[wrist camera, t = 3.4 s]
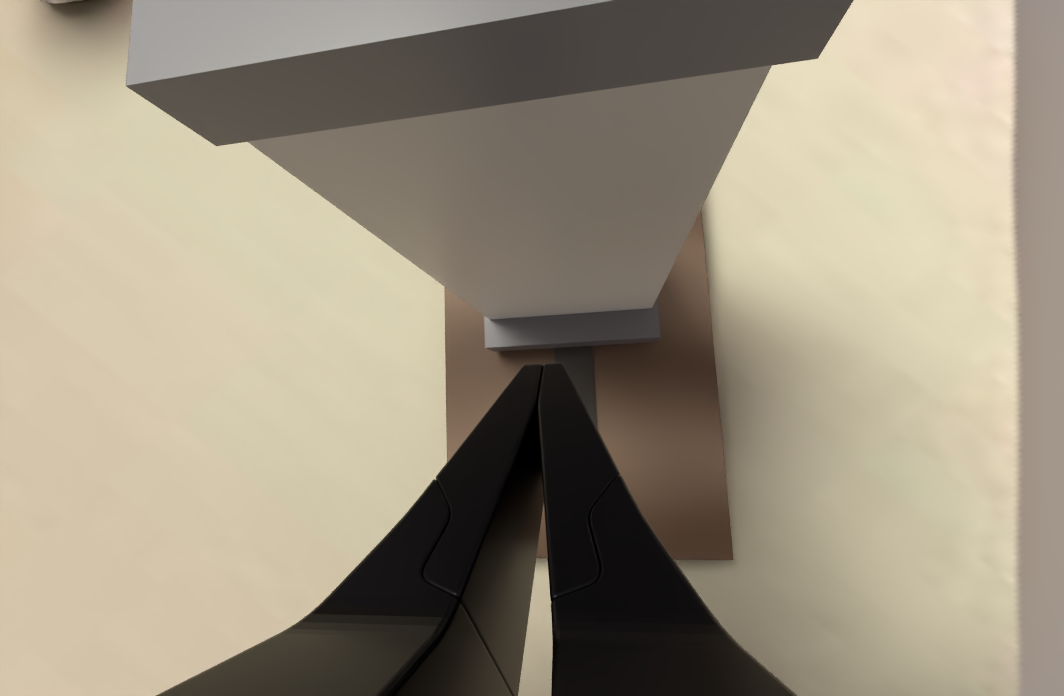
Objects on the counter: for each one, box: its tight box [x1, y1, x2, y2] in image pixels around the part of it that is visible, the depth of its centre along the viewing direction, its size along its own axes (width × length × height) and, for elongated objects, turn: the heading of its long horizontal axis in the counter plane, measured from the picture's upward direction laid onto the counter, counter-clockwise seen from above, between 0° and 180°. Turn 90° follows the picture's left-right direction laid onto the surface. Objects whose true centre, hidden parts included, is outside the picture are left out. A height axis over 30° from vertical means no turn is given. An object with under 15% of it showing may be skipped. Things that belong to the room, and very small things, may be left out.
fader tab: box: [126, 0, 853, 352], centre depth 10 cm, size 5×6×13 cm
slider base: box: [445, 210, 733, 560], centre depth 17 cm, size 26×10×4 cm, turn 2°
